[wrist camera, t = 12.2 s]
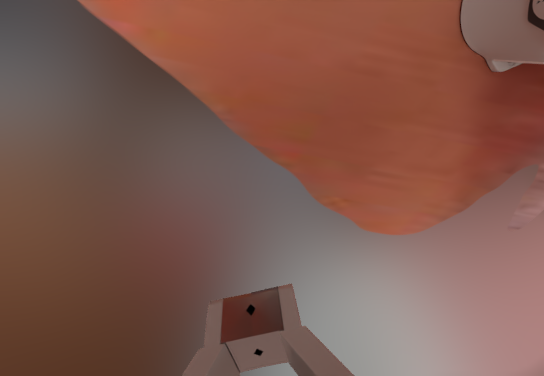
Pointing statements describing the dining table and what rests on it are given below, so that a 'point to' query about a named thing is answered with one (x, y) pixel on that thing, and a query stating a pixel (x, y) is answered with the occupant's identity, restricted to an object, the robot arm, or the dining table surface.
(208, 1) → the dining table surface
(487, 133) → the dining table surface
